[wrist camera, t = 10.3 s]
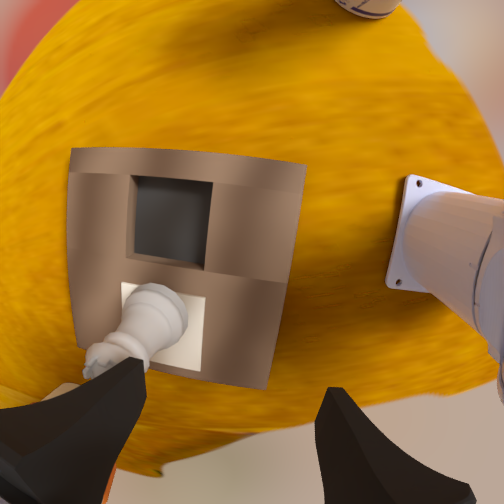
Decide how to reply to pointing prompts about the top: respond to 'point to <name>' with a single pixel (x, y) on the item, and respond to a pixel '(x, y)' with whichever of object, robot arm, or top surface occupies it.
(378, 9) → the energy drink
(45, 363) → the top surface
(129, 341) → the rook chess piece
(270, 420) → the top surface
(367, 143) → the top surface
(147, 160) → the hole board
